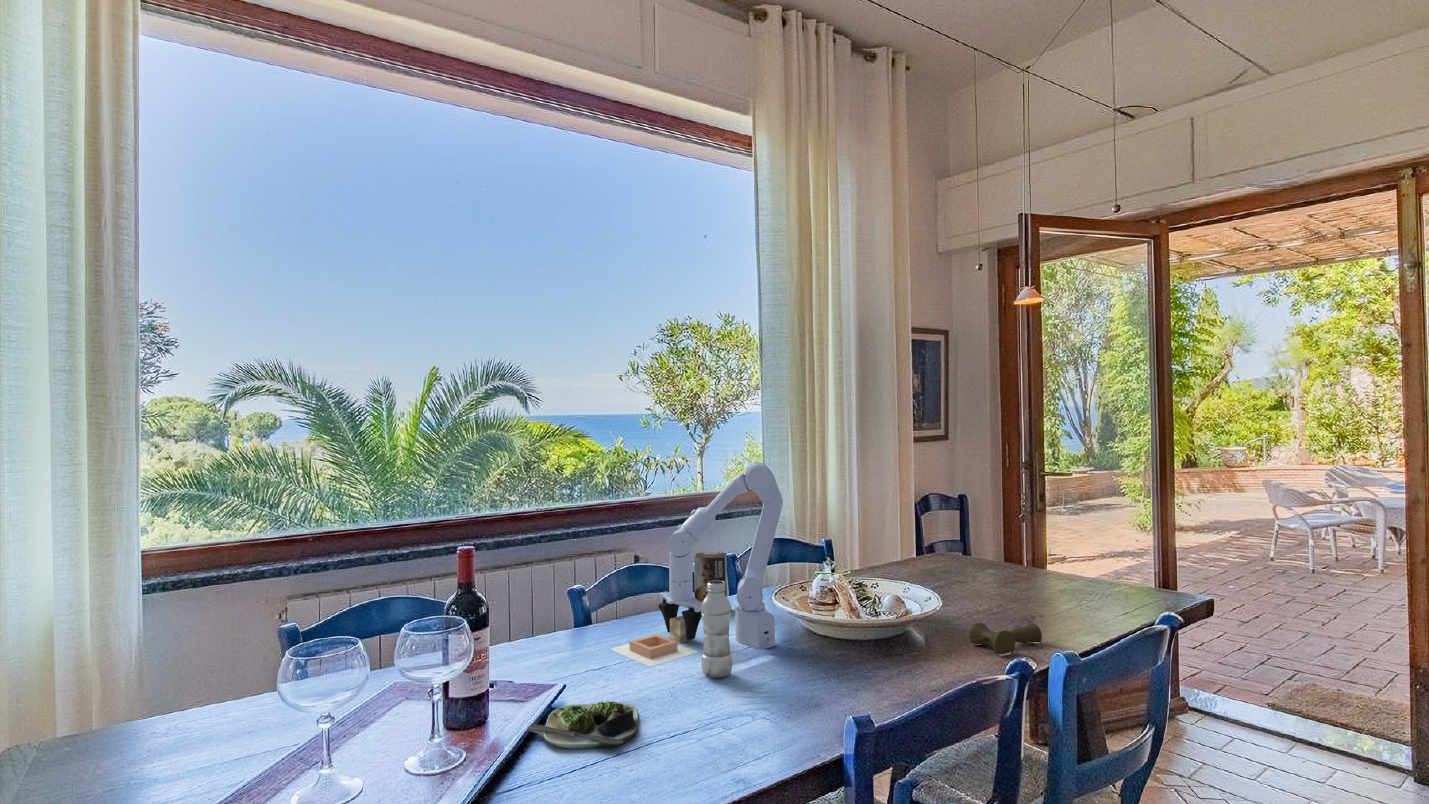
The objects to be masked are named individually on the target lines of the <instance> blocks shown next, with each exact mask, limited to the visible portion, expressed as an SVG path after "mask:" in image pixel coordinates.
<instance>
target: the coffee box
mask: <svg viewBox="0 0 1429 804" xmlns="http://www.w3.org/2000/svg"><path fill="white" fill-rule="evenodd" d="M727 555H728V554H727V552H697V553H695V556H694V557H693V566H694V567H693V569H694V574H693V575H694V598H695V599H697V600H698V601H700V602H703V600H704V599H705V597H706V596H707V594H708V591H707V585H708V582H709V581H723V582H725V592H724V594H725V596H726V597H727V598H728V569H727V568H728V564H727V563H728V562H727V561H728V560H727Z"/></svg>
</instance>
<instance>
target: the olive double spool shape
mask: <svg viewBox="0 0 1429 804" xmlns="http://www.w3.org/2000/svg"><path fill="white" fill-rule="evenodd" d="M968 635H969V642H970V643H971V644H972V643H974V644H984V645H983V646H990V647H992V648H993V649H994V652H995V653H996V655H998V654H1005V653H1009V652H1012V651H1013V652H1014V650H1015V647H1016V643H1017V642H1019V643H1023V644H1024V645H1027V643H1030V642H1040V643H1041V642H1042V638H1043V635H1042V630H1041V628H1040V627H1039V626H1038V624H1036V623H1034V622H1033V623H1032V622H1028V623H1026V624H1025V626H1022V625H1016V626H1014V628H1013V630H1006V629H1005V630H1004V629H1003V630H1000V631H998V632H995V631H991V630H990V629H989V627H988V626H987V625H986V624H985V623H983V622H975V623H974V624H972V625H971V627H970V629H969V633H968ZM1019 643H1018V644H1019ZM974 644H973V645H974Z"/></svg>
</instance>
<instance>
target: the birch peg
mask: <svg viewBox="0 0 1429 804" xmlns="http://www.w3.org/2000/svg"><path fill="white" fill-rule="evenodd" d="M669 639H671V640H673V641H676V642H677V643H679V644H680V643H681V644H682V643H684V642H689V641H692V640H693V639H691V640H687V637H686V627H685V621H684V618H683V615H679V616H677V617H675V618H671V619H670V633H669Z"/></svg>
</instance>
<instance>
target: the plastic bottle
mask: <svg viewBox="0 0 1429 804" xmlns="http://www.w3.org/2000/svg"><path fill="white" fill-rule="evenodd" d="M707 591H708V594H707V596H706V597H705V599H704V600H703V602H702V604H701V614H702V618H701V620H702V626H703V627H702V628H703V649H702V650H703V651H702V655H701V670H702V672H703V674H705V675H706V677H709V678H715V679H720V678H721V679H722V678H725V677H728V676H730V674H731V672H733V671H732V669H733V663H734V662H733V659H732V658H733V656H732V654H731V645H730V624H731V615H732V605H731V602H730V600H729V598H728V596H727V597H726V596H725V594H724V592H725V582H723V581H709V582H708V585H707Z"/></svg>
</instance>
